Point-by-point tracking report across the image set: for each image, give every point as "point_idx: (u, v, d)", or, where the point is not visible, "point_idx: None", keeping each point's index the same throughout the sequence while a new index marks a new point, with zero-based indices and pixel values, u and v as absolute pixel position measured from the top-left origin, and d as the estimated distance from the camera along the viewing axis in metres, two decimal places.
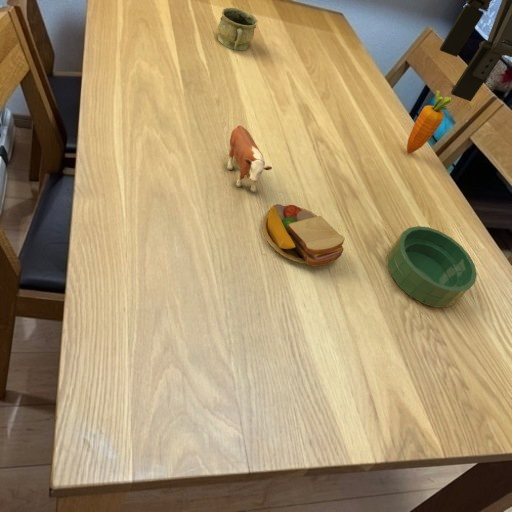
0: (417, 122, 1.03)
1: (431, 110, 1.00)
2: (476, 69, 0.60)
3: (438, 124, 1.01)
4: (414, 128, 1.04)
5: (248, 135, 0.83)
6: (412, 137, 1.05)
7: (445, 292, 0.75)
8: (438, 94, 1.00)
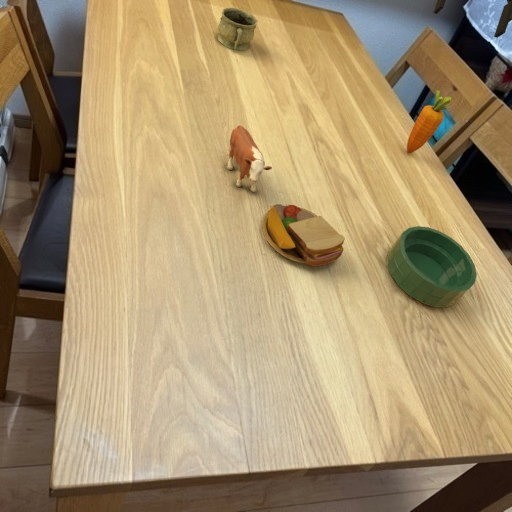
0: (417, 122, 1.03)
1: (431, 110, 1.00)
2: None
3: (438, 124, 1.01)
4: (414, 128, 1.04)
5: (248, 135, 0.83)
6: (412, 137, 1.05)
7: (445, 292, 0.75)
8: (438, 94, 1.00)
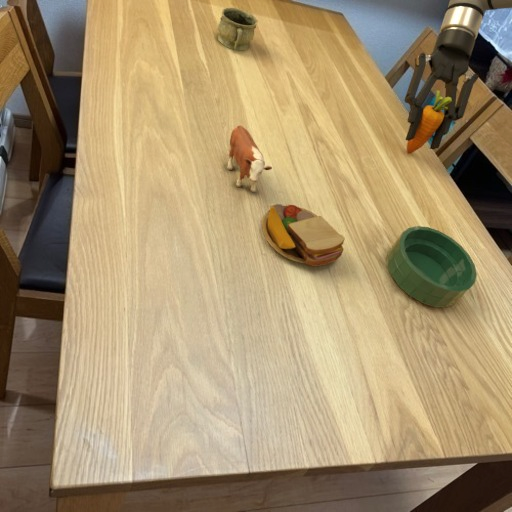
0: None
1: (431, 110, 1.00)
2: None
3: (438, 124, 1.01)
4: None
5: (248, 135, 0.83)
6: None
7: (445, 292, 0.75)
8: (438, 94, 1.00)
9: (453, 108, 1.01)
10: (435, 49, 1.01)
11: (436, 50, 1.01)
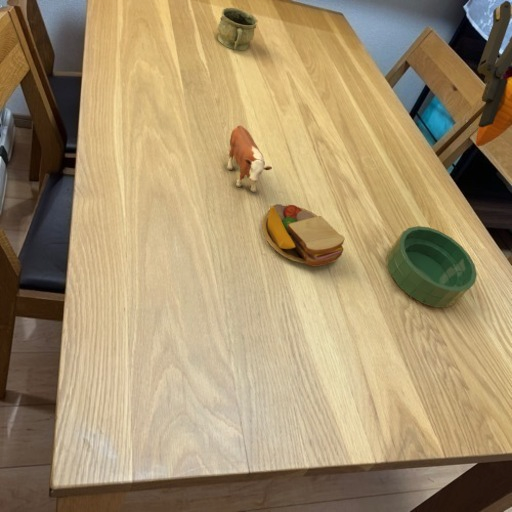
0: None
1: None
2: None
3: None
4: None
5: (248, 135, 0.83)
6: None
7: (445, 292, 0.75)
8: None
9: None
10: None
11: None
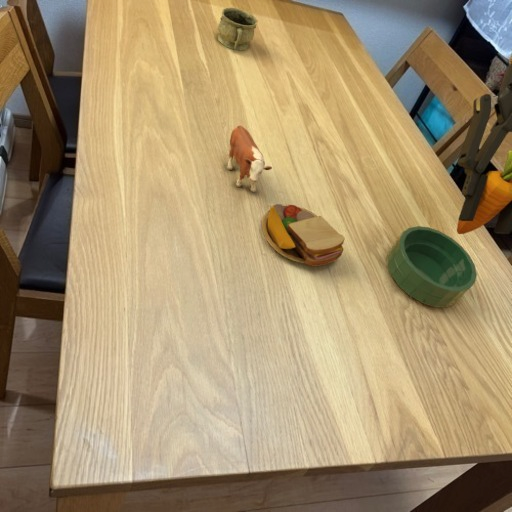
0: None
1: (500, 180, 0.67)
2: None
3: (509, 199, 0.68)
4: None
5: (248, 135, 0.83)
6: None
7: (445, 292, 0.75)
8: (511, 156, 0.66)
9: None
10: (505, 88, 0.68)
11: (506, 89, 0.68)
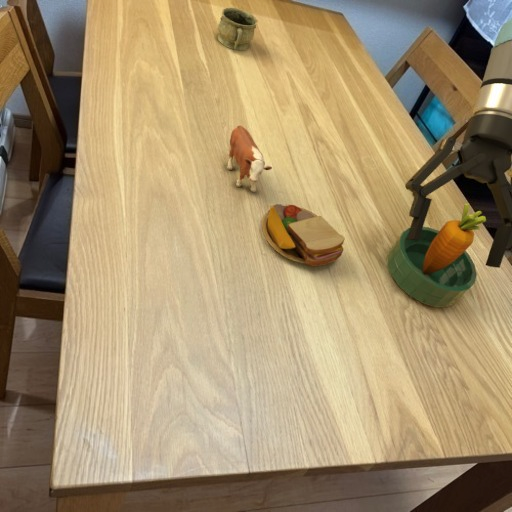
0: (437, 241, 0.77)
1: (457, 229, 0.74)
2: None
3: (466, 247, 0.75)
4: (433, 248, 0.78)
5: (248, 135, 0.83)
6: (430, 258, 0.79)
7: (445, 292, 0.75)
8: (467, 208, 0.74)
9: None
10: (467, 139, 0.74)
11: (468, 141, 0.74)
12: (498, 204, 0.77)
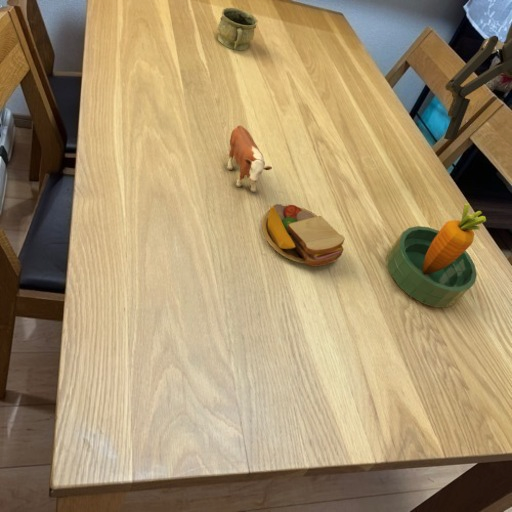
0: (437, 241, 0.77)
1: (457, 229, 0.74)
2: None
3: (466, 247, 0.75)
4: (433, 248, 0.78)
5: (248, 135, 0.83)
6: (430, 258, 0.79)
7: (445, 292, 0.75)
8: (467, 208, 0.74)
9: None
10: (509, 38, 0.76)
11: (511, 40, 0.76)
12: None
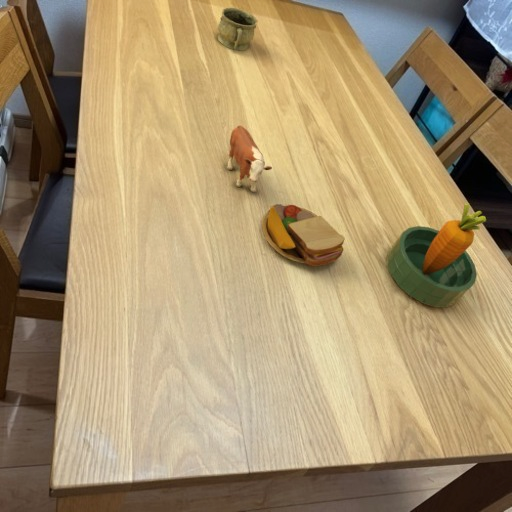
0: (437, 241, 0.77)
1: (457, 229, 0.74)
2: None
3: (466, 247, 0.75)
4: (433, 248, 0.78)
5: (248, 135, 0.83)
6: (430, 258, 0.79)
7: (445, 292, 0.75)
8: (467, 208, 0.74)
9: None
10: None
11: None
12: None
